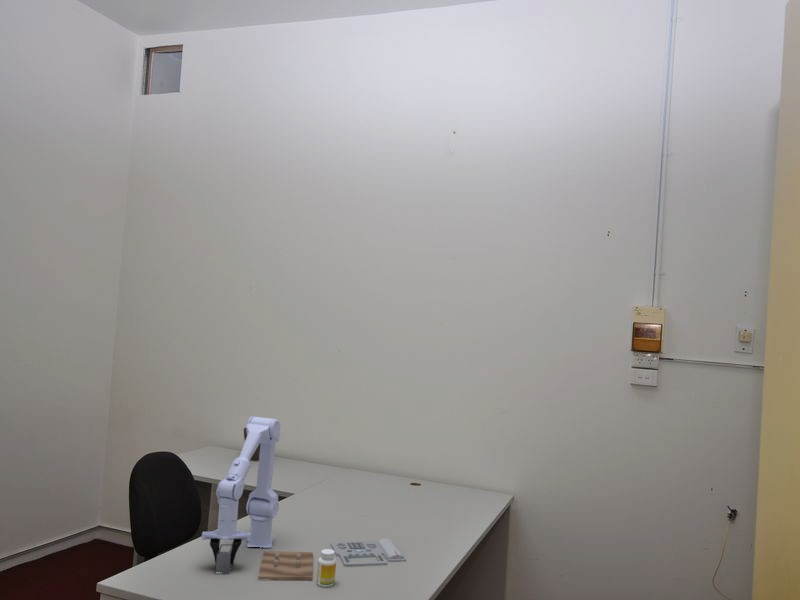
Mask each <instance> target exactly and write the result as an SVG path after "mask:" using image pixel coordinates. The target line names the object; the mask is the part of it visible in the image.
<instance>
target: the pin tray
mask: <svg viewBox="0 0 800 600" xmlns="http://www.w3.org/2000/svg"><path fill="white" fill-rule="evenodd" d="M313 558H314V552H313V551H281V550H279V551H276V550H272V551H271V550H264V551H263V554H262V558H261V564H260V566H259V573H258V576H257V580H258V579H280V580H279V581H307V580H308V581H311V582H312V581H313V573H314V572H313V570H314V569H313V566H314V565H313V563H314V559H313ZM281 579H282V580H281Z"/></svg>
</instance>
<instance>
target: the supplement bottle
mask: <svg viewBox="0 0 800 600" xmlns="http://www.w3.org/2000/svg"><path fill="white" fill-rule="evenodd" d="M320 551H321V552H320V557H319V558H318V560H317V572H316V584H317V585H318V586H319V587H323V588H331V587H332V586H334V585H335V582H336V581H335V580H336V567H337V559H336V557H335V556H336V555H335V551H334V550H333V549H332V548H325V549H322V550H320Z"/></svg>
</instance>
